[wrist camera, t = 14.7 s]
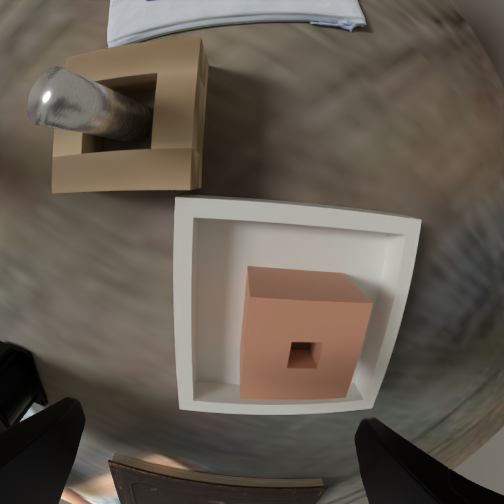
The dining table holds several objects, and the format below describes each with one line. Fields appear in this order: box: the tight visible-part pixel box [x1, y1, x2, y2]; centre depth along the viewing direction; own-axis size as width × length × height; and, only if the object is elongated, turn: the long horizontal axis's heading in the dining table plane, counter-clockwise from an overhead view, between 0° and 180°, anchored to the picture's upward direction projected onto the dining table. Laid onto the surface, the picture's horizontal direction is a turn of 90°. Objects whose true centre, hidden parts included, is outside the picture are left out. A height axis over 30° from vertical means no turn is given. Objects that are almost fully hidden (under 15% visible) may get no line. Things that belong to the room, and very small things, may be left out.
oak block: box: [52, 38, 209, 194], centre depth 15 cm, size 8×8×4 cm
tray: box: [173, 194, 421, 415], centre depth 18 cm, size 14×14×3 cm
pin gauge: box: [27, 66, 152, 143], centre depth 12 cm, size 2×2×8 cm
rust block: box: [240, 266, 373, 400], centre depth 17 cm, size 6×6×5 cm
